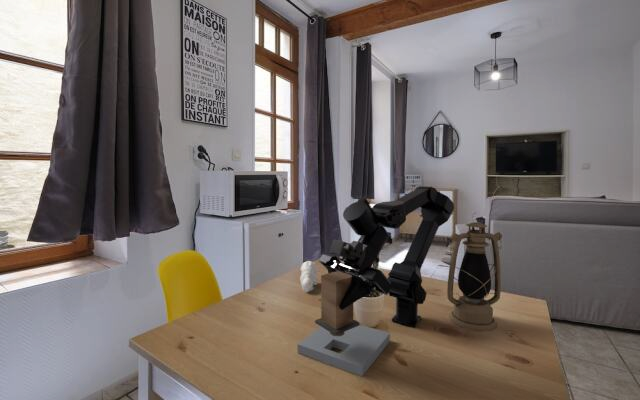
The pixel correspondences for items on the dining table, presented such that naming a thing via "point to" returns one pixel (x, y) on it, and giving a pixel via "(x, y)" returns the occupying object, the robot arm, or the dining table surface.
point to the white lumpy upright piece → (308, 275)
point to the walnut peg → (335, 304)
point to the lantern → (474, 280)
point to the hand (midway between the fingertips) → (332, 304)
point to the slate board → (346, 347)
